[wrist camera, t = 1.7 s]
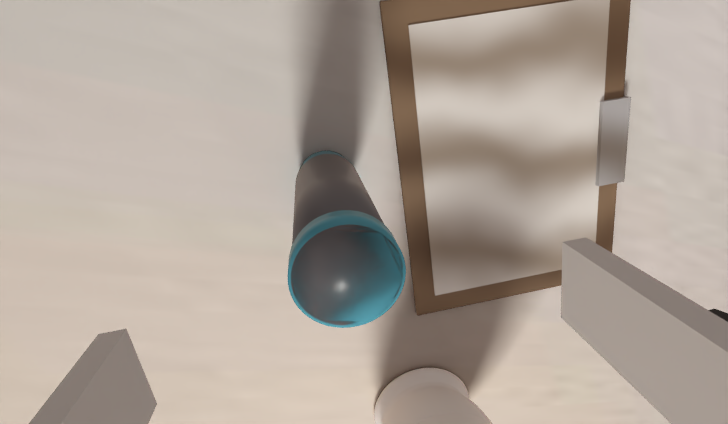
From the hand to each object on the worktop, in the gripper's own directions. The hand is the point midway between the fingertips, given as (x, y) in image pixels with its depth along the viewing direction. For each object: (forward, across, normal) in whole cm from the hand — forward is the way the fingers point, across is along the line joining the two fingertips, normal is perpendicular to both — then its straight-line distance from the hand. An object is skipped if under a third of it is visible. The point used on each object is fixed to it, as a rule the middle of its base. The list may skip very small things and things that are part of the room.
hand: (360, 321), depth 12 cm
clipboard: (+16, +13, -1) cm, 21 cm away
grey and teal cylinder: (+16, 0, 0) cm, 16 cm away
